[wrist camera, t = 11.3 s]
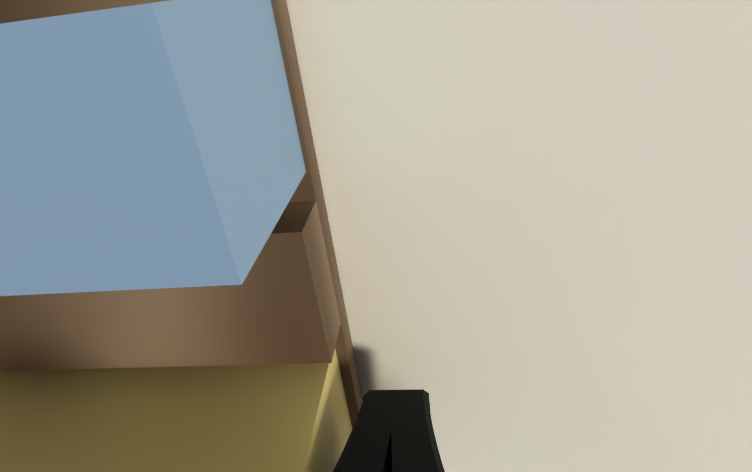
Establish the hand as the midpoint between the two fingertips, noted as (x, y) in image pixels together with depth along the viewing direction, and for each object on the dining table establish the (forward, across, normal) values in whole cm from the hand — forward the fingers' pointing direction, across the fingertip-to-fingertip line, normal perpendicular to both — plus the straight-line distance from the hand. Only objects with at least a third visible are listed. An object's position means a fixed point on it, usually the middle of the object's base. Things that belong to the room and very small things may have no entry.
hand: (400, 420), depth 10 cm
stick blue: (+1, +6, -7) cm, 10 cm away
